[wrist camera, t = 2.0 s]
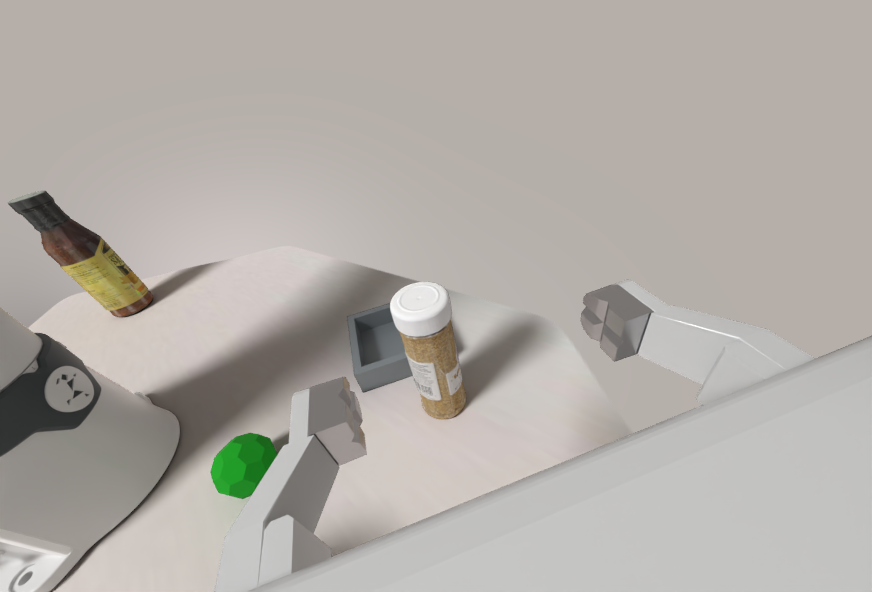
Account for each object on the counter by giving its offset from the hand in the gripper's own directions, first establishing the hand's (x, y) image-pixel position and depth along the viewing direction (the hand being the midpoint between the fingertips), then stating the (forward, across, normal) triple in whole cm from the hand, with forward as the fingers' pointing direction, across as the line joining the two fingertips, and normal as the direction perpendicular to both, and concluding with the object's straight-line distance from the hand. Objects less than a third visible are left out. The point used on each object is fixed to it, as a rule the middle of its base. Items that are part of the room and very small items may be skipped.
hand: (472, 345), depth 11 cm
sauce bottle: (+50, +44, +20) cm, 70 cm away
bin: (+21, +3, +20) cm, 30 cm away
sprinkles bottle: (+12, 0, +21) cm, 24 cm away
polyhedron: (+11, +18, +21) cm, 30 cm away
